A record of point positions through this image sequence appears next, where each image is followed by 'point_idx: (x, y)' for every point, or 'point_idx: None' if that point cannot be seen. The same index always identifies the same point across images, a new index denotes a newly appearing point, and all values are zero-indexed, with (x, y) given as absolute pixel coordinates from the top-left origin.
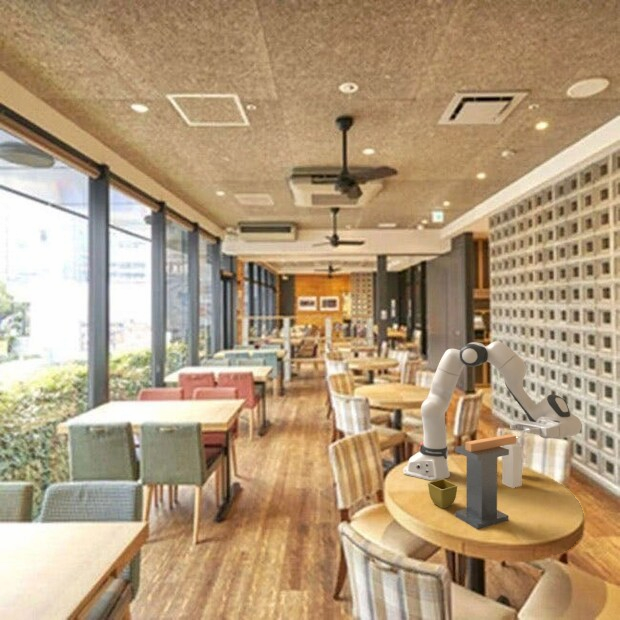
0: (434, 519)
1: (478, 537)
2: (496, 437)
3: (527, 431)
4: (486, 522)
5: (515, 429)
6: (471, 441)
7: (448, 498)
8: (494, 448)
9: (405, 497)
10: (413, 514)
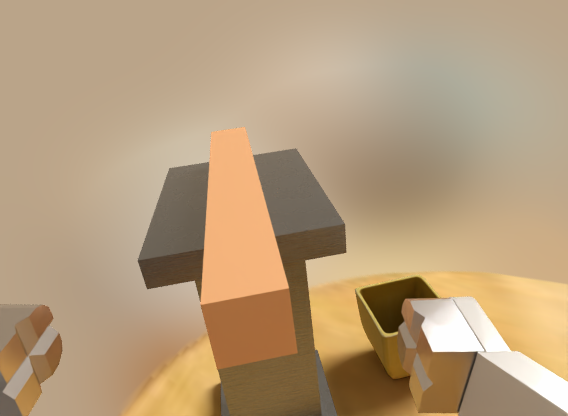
0: (314, 312)
1: (189, 363)
2: (243, 195)
3: (43, 333)
4: (221, 401)
5: (414, 394)
6: (239, 134)
7: (370, 337)
8: (202, 219)
9: (460, 293)
10: (350, 284)
